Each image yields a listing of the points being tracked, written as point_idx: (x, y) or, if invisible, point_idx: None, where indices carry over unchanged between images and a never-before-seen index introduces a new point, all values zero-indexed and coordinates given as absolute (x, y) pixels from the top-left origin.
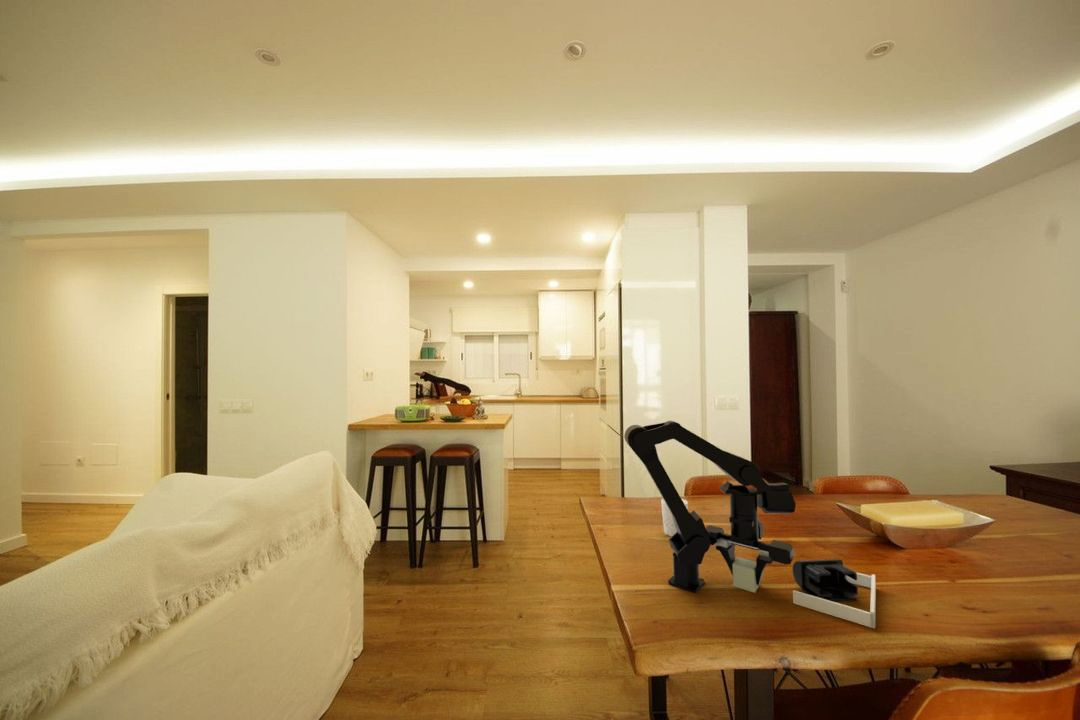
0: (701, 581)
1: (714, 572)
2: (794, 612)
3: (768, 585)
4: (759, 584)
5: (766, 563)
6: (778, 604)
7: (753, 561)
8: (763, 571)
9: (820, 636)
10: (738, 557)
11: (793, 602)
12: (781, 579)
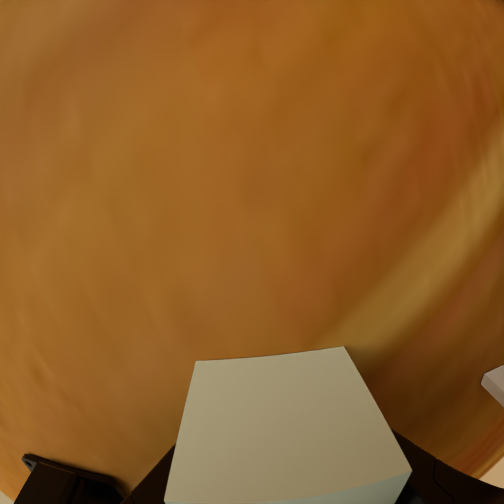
0: (116, 497)
1: (60, 369)
2: (467, 431)
3: (392, 305)
4: (344, 352)
5: (478, 489)
6: (428, 436)
7: (356, 489)
8: (424, 455)
9: (489, 458)
10: (171, 500)
11: (482, 385)
12: (437, 134)
